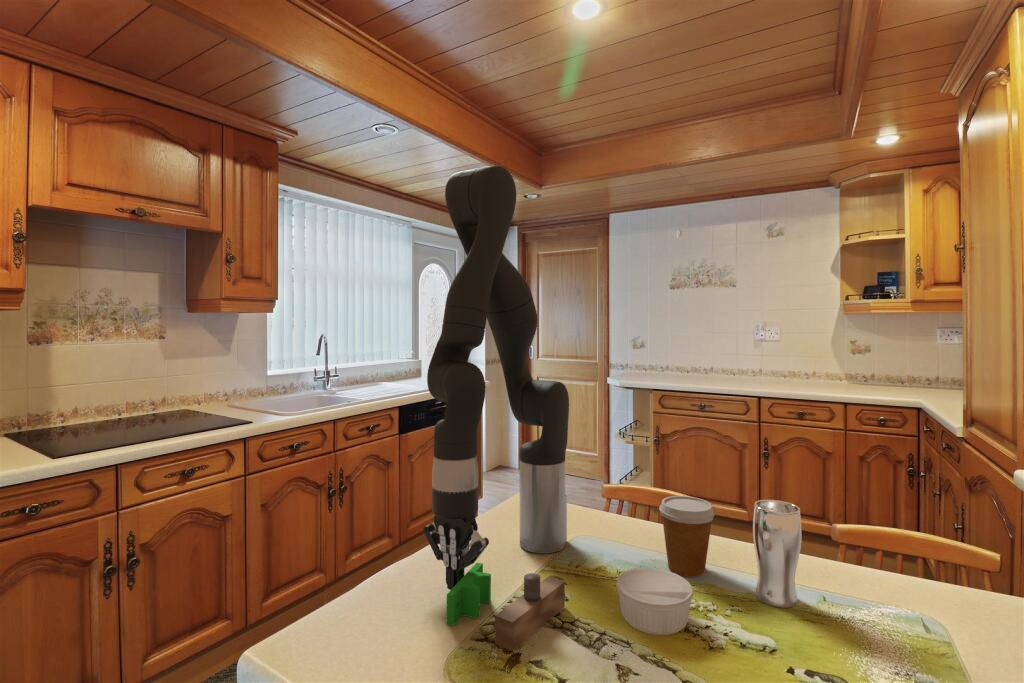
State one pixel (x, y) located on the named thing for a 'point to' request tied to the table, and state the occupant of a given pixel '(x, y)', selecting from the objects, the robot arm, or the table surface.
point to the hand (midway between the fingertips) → (454, 588)
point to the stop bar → (529, 611)
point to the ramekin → (654, 600)
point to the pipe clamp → (469, 595)
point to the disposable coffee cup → (686, 533)
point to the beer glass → (777, 551)
